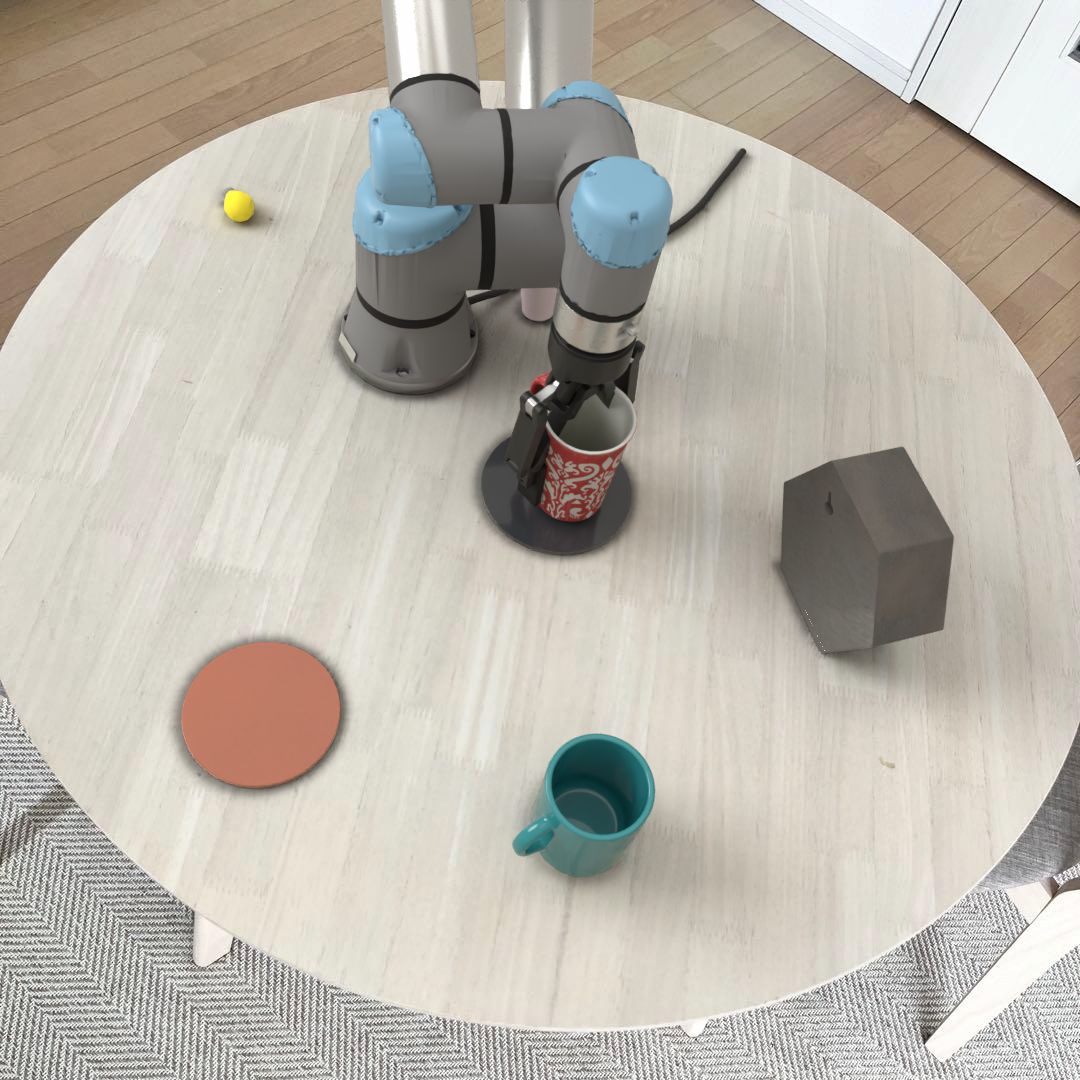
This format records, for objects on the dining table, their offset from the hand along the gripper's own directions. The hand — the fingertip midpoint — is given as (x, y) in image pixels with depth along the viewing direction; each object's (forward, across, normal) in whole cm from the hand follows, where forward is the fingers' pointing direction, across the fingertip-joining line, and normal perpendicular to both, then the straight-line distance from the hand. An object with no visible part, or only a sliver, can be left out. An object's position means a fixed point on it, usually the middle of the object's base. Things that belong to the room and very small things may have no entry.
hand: (560, 475), depth 117 cm
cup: (+3, -24, -28) cm, 37 cm away
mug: (+2, 0, 0) cm, 2 cm away
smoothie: (+3, +15, +20) cm, 25 cm away
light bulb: (+3, -4, +53) cm, 53 cm away
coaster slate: (+3, 0, 0) cm, 3 cm away
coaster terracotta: (+3, -38, -2) cm, 38 cm away
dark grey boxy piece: (+3, +14, -27) cm, 31 cm away
